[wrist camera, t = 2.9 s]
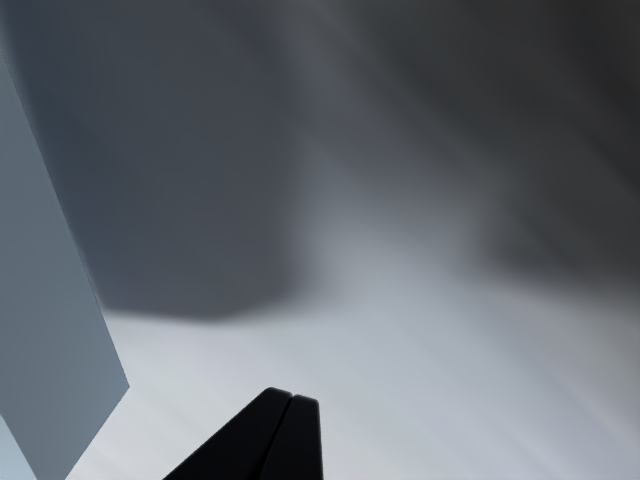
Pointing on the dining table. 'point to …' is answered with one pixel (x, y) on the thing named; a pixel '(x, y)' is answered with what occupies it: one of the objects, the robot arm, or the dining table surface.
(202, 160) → the dining table surface
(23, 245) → the leg
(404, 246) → the dining table surface
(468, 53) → the dining table surface
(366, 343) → the dining table surface
